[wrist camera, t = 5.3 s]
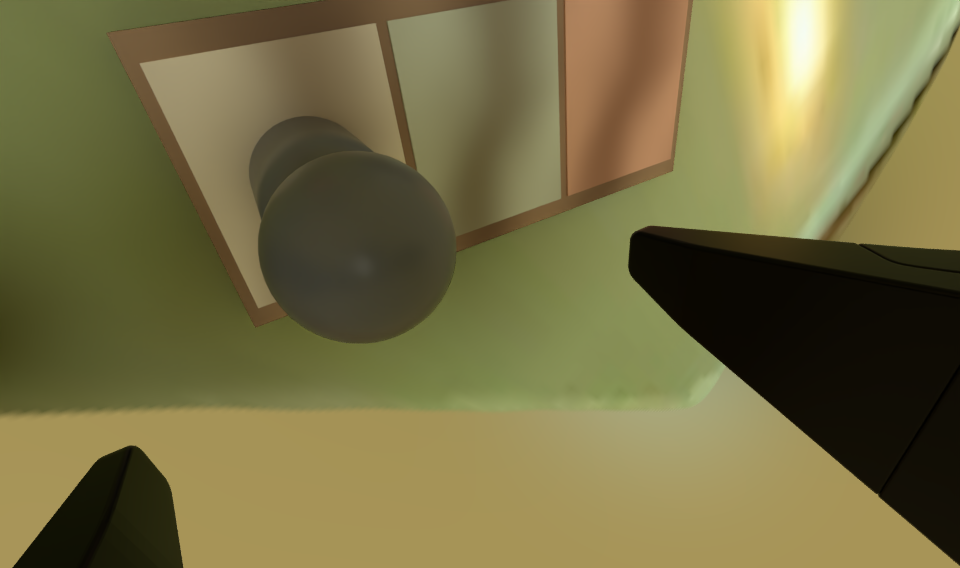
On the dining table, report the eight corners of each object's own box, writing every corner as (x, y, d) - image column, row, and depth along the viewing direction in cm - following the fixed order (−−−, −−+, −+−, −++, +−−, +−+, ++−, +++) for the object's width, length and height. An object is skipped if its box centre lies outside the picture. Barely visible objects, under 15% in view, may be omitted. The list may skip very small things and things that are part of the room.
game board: (252, 314, 18) (255, 328, 18) (111, 31, 13) (105, 32, 12) (658, 166, 26) (674, 171, 25) (680, -52, 20) (701, -55, 20)
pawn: (266, 253, 16) (312, 414, 10) (214, 122, 14) (230, 223, 7) (388, 218, 18) (496, 337, 12) (362, 94, 16) (481, 158, 9)
